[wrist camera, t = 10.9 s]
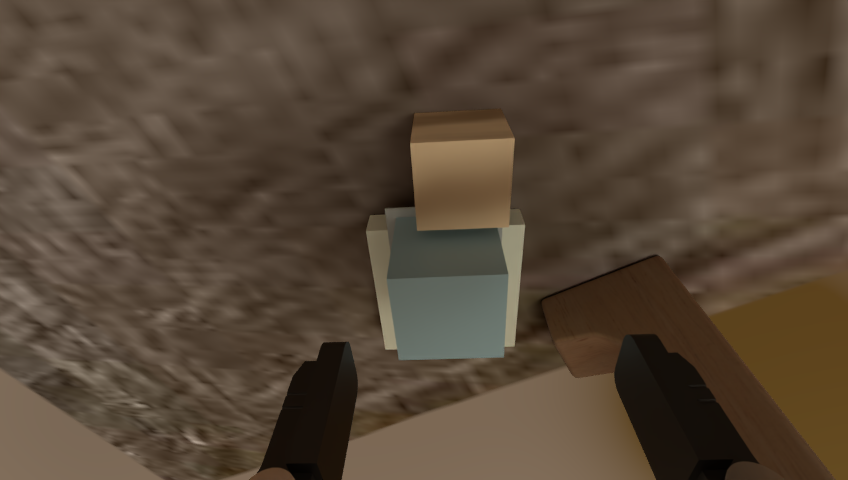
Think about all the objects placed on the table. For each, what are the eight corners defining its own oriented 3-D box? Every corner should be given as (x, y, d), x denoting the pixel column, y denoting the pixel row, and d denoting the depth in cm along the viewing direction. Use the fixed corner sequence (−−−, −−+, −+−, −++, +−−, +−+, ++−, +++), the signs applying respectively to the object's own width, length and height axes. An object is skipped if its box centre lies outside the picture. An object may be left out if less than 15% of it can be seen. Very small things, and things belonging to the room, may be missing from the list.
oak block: (414, 112, 24) (410, 143, 20) (500, 108, 24) (514, 138, 20) (419, 189, 27) (417, 230, 23) (497, 186, 26) (509, 227, 22)
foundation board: (366, 193, 27) (362, 209, 25) (521, 186, 26) (527, 202, 25) (388, 330, 34) (385, 350, 32) (510, 327, 33) (514, 347, 31)
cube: (396, 217, 25) (386, 279, 20) (493, 212, 25) (508, 274, 20) (405, 291, 29) (398, 360, 24) (491, 288, 28) (503, 357, 23)
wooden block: (558, 334, 34) (658, 630, 19) (538, 298, 31) (632, 599, 16) (673, 294, 31) (897, 601, 16) (659, 251, 29) (902, 560, 14)
